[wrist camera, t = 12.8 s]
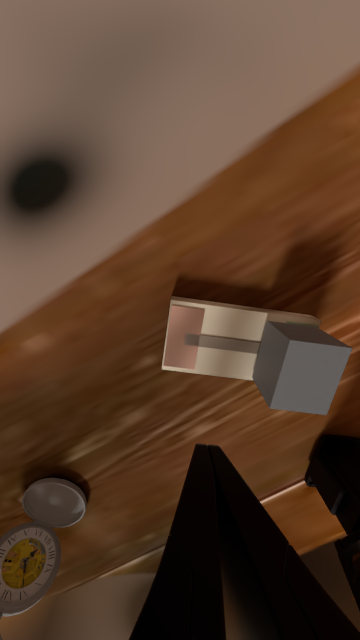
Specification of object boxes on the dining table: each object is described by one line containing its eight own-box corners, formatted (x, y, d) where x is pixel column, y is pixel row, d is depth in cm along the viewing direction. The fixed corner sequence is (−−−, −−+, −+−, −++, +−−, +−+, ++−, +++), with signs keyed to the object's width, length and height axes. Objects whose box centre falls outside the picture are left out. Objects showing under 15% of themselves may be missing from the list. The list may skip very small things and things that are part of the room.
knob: (316, 327, 19) (352, 348, 15) (298, 382, 20) (326, 414, 16) (266, 320, 18) (290, 340, 15) (251, 377, 20) (269, 408, 16)
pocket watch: (82, 471, 25) (25, 609, 16) (95, 527, 28) (52, 674, 18) (6, 475, 25) (-98, 615, 16) (25, 530, 28) (-54, 679, 18)
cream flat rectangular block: (311, 315, 20) (322, 320, 19) (291, 376, 22) (300, 386, 21) (171, 295, 20) (170, 300, 18) (162, 361, 21) (161, 369, 20)
